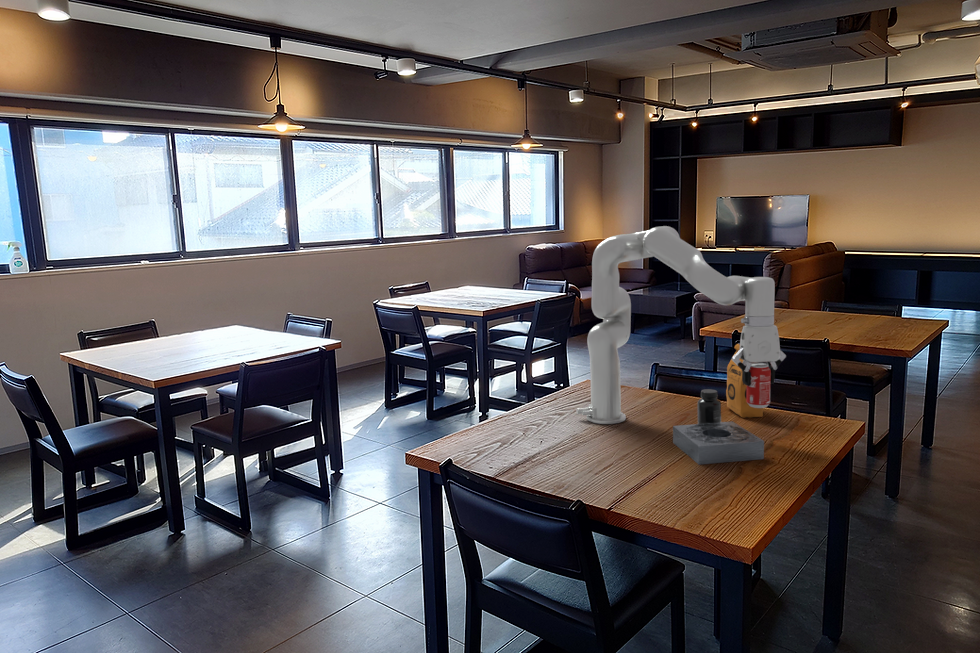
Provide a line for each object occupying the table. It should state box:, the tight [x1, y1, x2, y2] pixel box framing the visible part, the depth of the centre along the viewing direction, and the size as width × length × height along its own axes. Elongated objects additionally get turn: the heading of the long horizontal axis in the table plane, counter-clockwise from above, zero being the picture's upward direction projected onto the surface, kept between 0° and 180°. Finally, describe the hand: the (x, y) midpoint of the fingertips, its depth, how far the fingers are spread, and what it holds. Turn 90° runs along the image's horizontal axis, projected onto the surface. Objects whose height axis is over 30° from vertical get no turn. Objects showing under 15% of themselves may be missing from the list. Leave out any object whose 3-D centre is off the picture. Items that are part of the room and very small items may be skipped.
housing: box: [672, 420, 765, 466], centre depth 189 cm, size 18×18×5 cm
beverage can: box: [746, 362, 772, 409], centre depth 195 cm, size 6×6×12 cm
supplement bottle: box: [697, 388, 722, 424], centre depth 207 cm, size 7×7×12 cm
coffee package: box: [725, 343, 764, 419], centre depth 221 cm, size 10×12×22 cm
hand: (758, 383), depth 195 cm, fingers closed on beverage can, 6 cm apart
